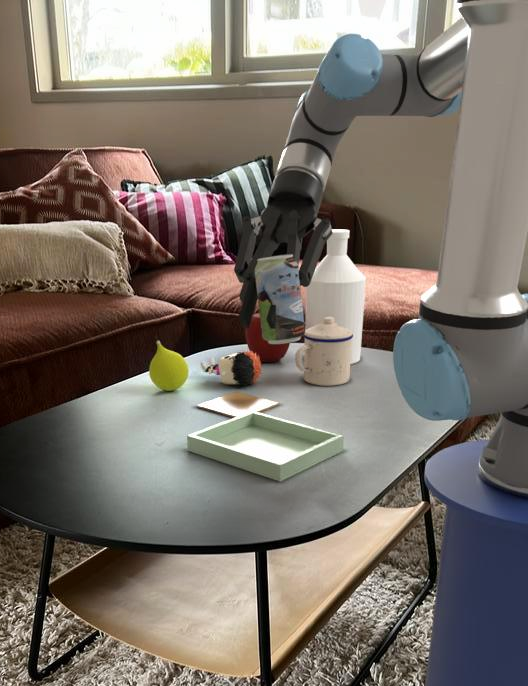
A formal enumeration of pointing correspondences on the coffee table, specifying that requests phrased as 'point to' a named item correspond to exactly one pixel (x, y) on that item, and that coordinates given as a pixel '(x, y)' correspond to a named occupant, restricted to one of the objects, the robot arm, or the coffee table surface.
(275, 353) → the apple
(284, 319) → the beverage can
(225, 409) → the coaster
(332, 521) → the coffee table surface
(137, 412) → the coffee table surface
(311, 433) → the tray
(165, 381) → the ornament
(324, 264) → the bottle
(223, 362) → the figurine
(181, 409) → the coffee table surface
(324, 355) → the teacup with lid
